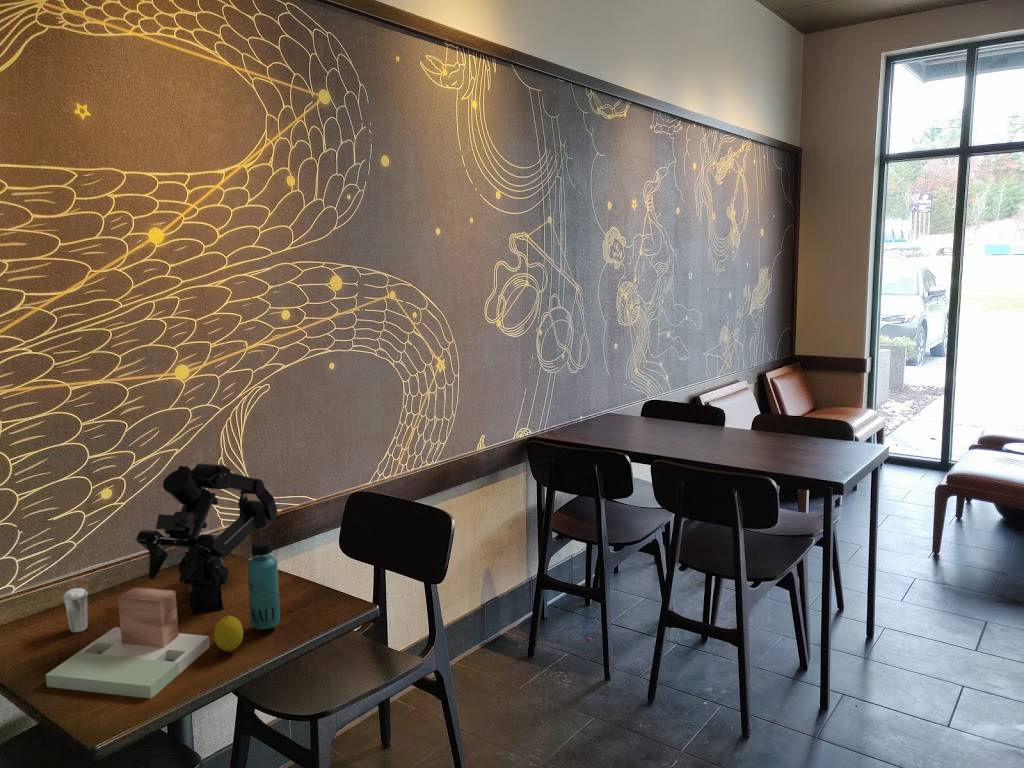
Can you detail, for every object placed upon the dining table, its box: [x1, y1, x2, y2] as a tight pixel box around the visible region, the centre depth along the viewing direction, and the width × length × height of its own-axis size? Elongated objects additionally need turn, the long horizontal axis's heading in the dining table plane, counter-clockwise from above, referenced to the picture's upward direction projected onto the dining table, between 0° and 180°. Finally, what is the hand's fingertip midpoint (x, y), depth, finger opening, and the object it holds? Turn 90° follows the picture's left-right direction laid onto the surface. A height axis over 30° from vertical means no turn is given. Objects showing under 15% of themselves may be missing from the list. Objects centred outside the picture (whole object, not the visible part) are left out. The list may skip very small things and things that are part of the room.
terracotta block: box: [117, 586, 180, 648], centre depth 155 cm, size 5×10×10 cm, turn 80°
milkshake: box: [63, 586, 89, 633], centre depth 164 cm, size 4×5×10 cm
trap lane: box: [45, 626, 211, 700], centre depth 150 cm, size 19×22×2 cm
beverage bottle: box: [246, 540, 282, 630], centre depth 163 cm, size 6×7×20 cm
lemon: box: [214, 615, 244, 653], centre depth 155 cm, size 6×6×8 cm
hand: (165, 580), depth 160 cm, fingers open, 7 cm apart
